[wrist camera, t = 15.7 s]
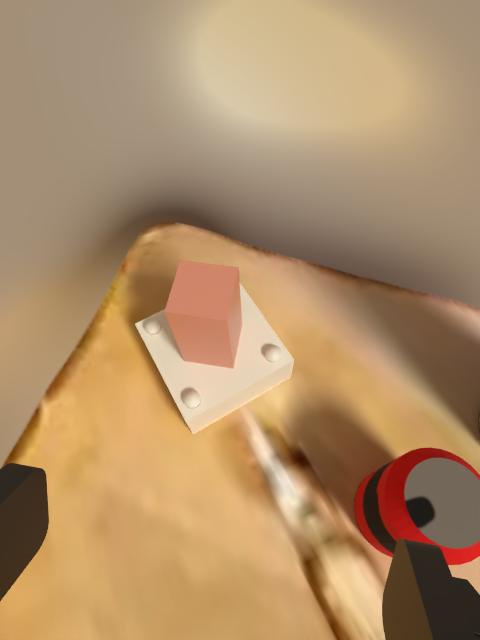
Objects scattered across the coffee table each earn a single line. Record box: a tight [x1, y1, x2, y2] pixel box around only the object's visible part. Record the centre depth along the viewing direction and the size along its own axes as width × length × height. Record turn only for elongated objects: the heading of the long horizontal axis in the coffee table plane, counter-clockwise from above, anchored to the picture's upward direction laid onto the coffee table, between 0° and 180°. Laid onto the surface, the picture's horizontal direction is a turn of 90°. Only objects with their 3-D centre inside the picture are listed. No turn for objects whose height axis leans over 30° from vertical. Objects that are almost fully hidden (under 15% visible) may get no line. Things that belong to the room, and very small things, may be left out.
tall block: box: [164, 261, 242, 369], centre depth 37 cm, size 5×5×10 cm
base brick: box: [135, 284, 294, 434], centre depth 44 cm, size 12×12×6 cm
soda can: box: [355, 448, 480, 565], centre depth 33 cm, size 8×8×12 cm
